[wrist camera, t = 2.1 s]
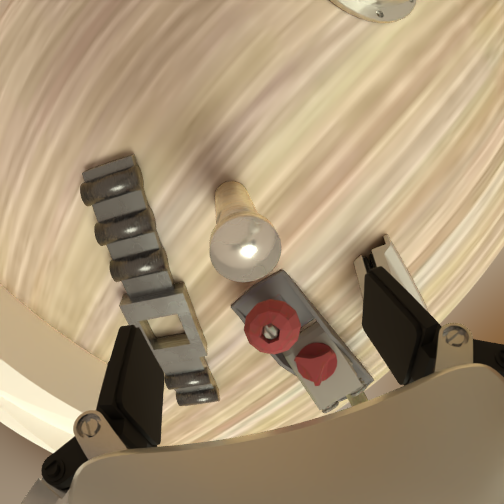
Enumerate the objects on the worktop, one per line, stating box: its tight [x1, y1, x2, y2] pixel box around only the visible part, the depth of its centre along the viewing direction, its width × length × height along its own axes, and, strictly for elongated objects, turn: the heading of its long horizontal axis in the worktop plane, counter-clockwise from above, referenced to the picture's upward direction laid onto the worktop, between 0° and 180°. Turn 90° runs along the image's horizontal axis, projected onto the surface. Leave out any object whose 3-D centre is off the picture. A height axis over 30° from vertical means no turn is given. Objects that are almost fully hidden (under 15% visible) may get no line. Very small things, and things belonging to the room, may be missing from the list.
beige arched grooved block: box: [354, 234, 428, 311], centre depth 31 cm, size 17×5×10 cm, turn 42°
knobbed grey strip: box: [80, 154, 220, 406], centre depth 29 cm, size 32×7×3 cm, turn 10°
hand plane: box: [231, 270, 374, 413], centre depth 31 cm, size 7×31×15 cm, turn 37°
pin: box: [210, 181, 281, 282], centre depth 21 cm, size 4×4×11 cm
